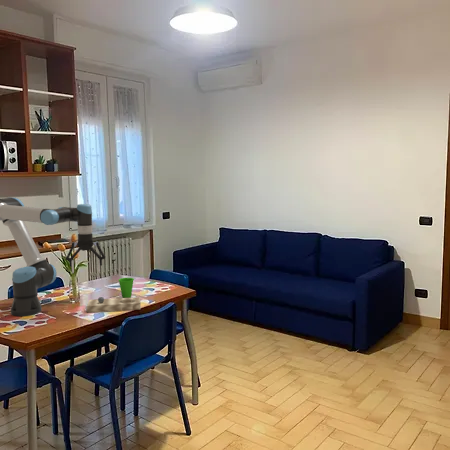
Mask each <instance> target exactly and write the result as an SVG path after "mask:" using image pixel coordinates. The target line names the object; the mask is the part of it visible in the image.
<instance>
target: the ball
mask: <svg viewBox="0 0 450 450" xmlns="http://www.w3.org/2000/svg"><path fill="white" fill-rule="evenodd" d="M104 299H105V298H104V297H103V296H99V297H98V302H99V303H103V302H104Z"/></svg>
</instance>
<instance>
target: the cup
mask: <svg viewBox="0 0 450 450" xmlns="http://www.w3.org/2000/svg"><path fill="white" fill-rule="evenodd" d="M134 280H135V278H133V277H122V278H119V279H118V283H119V287H120V288H119V289H120V293H121V298H132V293H133V286H134Z"/></svg>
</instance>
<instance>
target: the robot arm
mask: <svg viewBox="0 0 450 450" xmlns="http://www.w3.org/2000/svg"><path fill="white" fill-rule="evenodd" d="M0 221H1V222H2V224H3V225H4V226H7V227H8V229H9V231H10V233H11V235H12V238H13V239H14V242H15V243H16V245H17V247H18V249H19V252H20V253H21V256H22V257H23V259H24V261H25V263H26V266H24V267H23V266H22V267H19V268H16V269H15V270H14V271H13V272H12V291H13V295H12V296H13V300H12V304H11V307H10V314H11V316H16V317H28V316H32V315H36V314H38V313H41V312H42V305H41V301H40V300H39V297H38V289H41V288H43V287H47V286H49V285H51V284H53V283H54V282H55V280H56V279H57V269H56V267H55V266H54V265H53V264H52V263H49V262H48V261H47V258H44V257H43V256H42V255H41V252H40V251H39V249H38V247H37V245H36V243H35V241H34V239H33V237H32V235H31V232H30V230H29V229H28V227H27V224H26V223H25V222H32V223H40V224H44V225H46V226H53V225H57V224H63V223H66V222H67V223H68V222H76V224H77V242H74V241H73V242H71V246H70V249H69V251H68V253H67V255H66V257H65V261H68V262H69V267H70V268H71V274H74V272H75V270H74V269H75V267H74V266H75V265H74V263H75V262H74V258H75V257H76V256H77V255H78V254H79V253H80V251H84V252H85V251H90V252H92V253H93V255H94V256H96V257H97V259H98V260H97V262H98V263H97V267H98V269H97V271H98V273H100V272H101V266H103V260H104V259H106V256H105V254H104V252H103V250H102V248H101V246H100V243H99V241H95V242H94V240H93V237H94V236H93V209H92V205H91V204H88V203H79V204H77V205H76V207H71V206H70V207H68V206H60V207H58V208H53V209H52V208H44V207H43V208H42V207H32V206H31V207H30V206H25V204H24V203H23V202H22V201H21V199H19V198H16V197H10V196H9V197H2V198H0ZM76 246H77V247H78V249H76V251H75V252H74V253H73V250H74V248H75V247H76ZM93 246H95V247H96V249H97V250H98V252H99V253H98V252H97V251H96V250H95V249H94V248H93ZM72 253H73V254H72ZM71 254H72V255H71ZM70 256H71V257H70Z"/></svg>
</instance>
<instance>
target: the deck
mask: <svg viewBox="0 0 450 450" xmlns="http://www.w3.org/2000/svg"><path fill="white" fill-rule="evenodd" d="M141 307H142V306H141V296H139V297H137V296H136V297H131V298H122V297H120V298H118V297H116V298H104V302H103V303H99V302H98V299H88V301H87V305H86V312H87V313H101V312H115V311H116V312H119V311H120V310H122V311H134V310H135V311H138V310H141Z"/></svg>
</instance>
